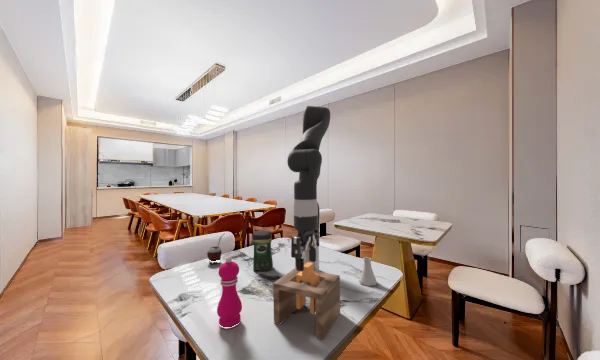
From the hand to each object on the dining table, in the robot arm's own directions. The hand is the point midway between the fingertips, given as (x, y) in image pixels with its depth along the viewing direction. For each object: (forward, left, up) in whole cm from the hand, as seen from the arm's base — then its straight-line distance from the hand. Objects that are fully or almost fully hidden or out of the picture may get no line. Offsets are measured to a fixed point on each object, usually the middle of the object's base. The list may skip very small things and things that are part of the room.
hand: (306, 265), depth 71 cm
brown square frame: (0, 0, -16) cm, 16 cm away
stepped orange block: (0, 0, -13) cm, 13 cm away
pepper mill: (-20, -13, -16) cm, 29 cm away
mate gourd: (-66, +22, -16) cm, 71 cm away
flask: (+11, +33, -16) cm, 39 cm away
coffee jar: (-38, +26, -16) cm, 49 cm away
